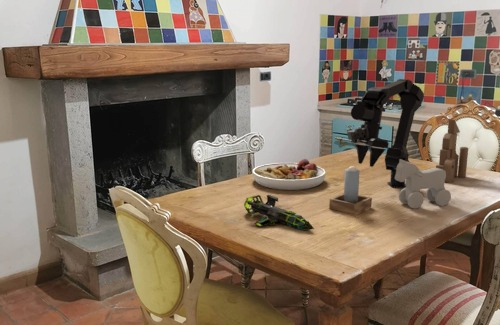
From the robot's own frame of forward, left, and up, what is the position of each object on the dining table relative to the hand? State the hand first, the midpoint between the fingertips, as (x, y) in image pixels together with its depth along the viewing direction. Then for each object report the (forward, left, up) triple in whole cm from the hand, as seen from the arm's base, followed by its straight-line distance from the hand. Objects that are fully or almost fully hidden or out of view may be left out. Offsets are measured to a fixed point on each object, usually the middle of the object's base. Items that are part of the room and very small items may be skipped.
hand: (365, 165), depth 185 cm
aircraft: (+25, -34, -13) cm, 44 cm away
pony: (+10, +17, -12) cm, 24 cm away
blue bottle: (+13, -8, -11) cm, 19 cm away
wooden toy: (-25, +43, -12) cm, 52 cm away
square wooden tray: (+13, -8, -12) cm, 19 cm away
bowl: (-24, -26, -13) cm, 37 cm away
